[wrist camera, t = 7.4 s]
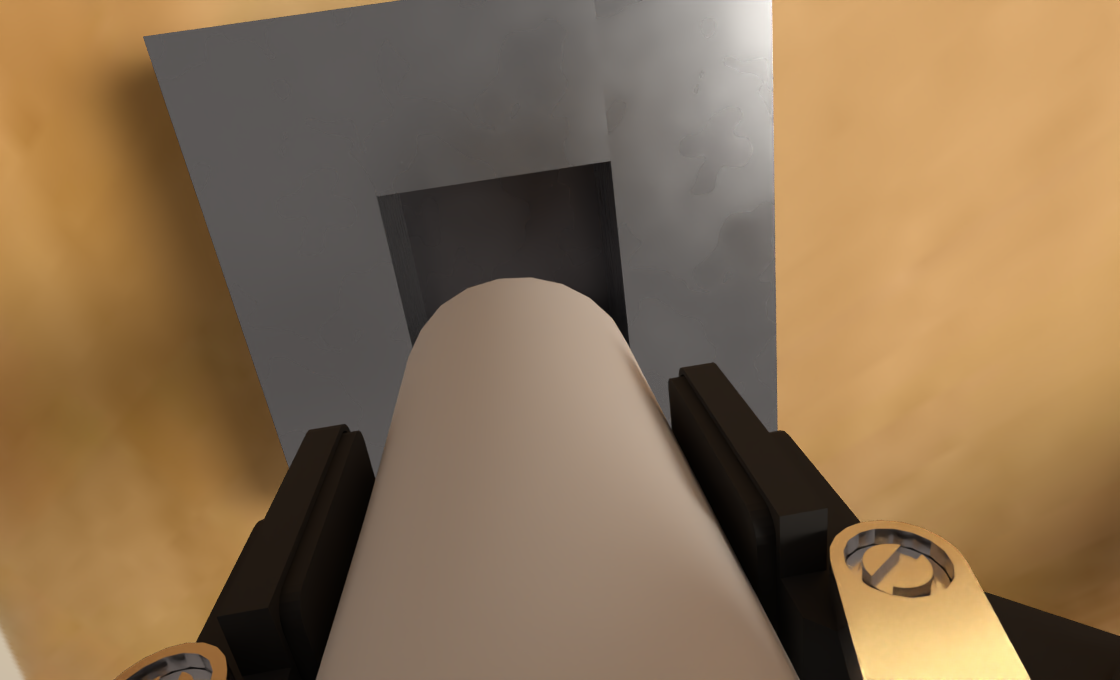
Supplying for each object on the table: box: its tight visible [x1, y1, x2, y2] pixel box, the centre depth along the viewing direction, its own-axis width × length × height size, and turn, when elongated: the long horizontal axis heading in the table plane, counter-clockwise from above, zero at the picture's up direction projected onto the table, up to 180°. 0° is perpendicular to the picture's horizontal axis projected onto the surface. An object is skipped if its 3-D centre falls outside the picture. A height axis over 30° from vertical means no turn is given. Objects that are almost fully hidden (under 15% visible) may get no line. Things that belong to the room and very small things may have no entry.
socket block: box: [143, 0, 777, 479], centre depth 23 cm, size 16×16×5 cm
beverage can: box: [316, 277, 800, 680], centre depth 9 cm, size 5×5×12 cm
